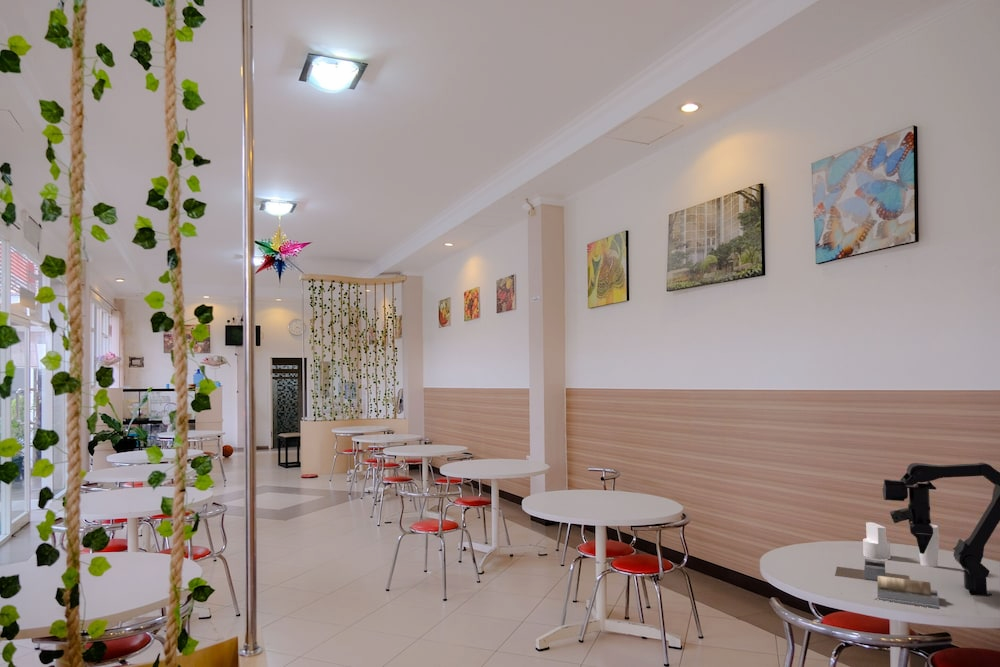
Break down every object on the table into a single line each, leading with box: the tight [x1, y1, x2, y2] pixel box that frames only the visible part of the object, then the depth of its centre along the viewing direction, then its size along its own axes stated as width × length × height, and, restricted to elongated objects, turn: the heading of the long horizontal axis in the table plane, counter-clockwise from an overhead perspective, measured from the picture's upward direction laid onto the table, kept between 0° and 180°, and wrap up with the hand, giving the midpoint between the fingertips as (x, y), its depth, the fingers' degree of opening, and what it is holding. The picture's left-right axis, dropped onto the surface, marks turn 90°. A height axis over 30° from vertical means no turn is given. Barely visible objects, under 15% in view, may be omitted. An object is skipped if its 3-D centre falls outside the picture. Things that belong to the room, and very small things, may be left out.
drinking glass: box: [917, 523, 940, 568], centre depth 240 cm, size 7×7×15 cm
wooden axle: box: [877, 576, 932, 595], centre depth 206 cm, size 14×4×4 cm, turn 60°
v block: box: [876, 587, 940, 610], centre depth 206 cm, size 16×9×3 cm, turn 60°
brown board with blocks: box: [834, 558, 910, 582], centre depth 227 cm, size 22×12×5 cm, turn 60°
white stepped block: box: [862, 521, 892, 561], centre depth 254 cm, size 9×9×12 cm
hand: (921, 550), depth 219 cm, fingers open, 9 cm apart
